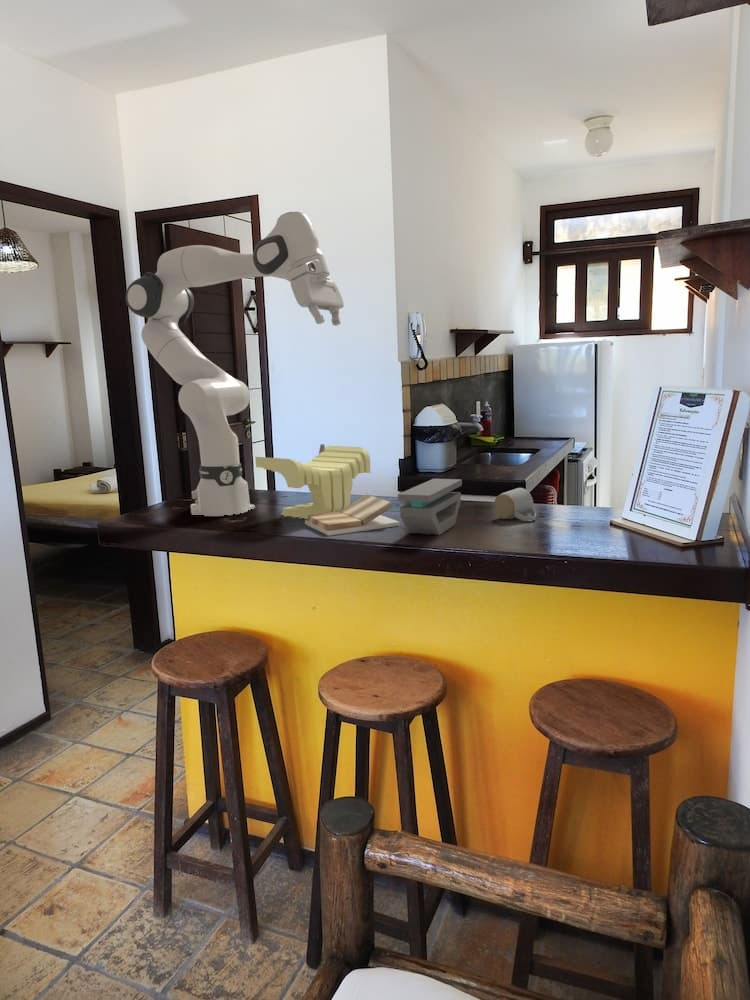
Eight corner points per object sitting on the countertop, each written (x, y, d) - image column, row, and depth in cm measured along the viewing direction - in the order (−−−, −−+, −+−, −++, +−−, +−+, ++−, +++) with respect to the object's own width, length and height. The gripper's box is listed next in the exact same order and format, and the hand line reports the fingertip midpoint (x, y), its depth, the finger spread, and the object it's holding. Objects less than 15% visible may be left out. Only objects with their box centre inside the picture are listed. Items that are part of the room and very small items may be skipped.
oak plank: (307, 521, 188) (307, 515, 188) (339, 517, 192) (338, 511, 192) (328, 530, 176) (328, 524, 175) (361, 526, 180) (361, 520, 179)
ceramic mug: (491, 518, 189) (491, 490, 187) (511, 513, 194) (511, 486, 192) (523, 524, 181) (524, 495, 179) (543, 519, 186) (544, 490, 184)
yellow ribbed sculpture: (301, 527, 186) (298, 459, 182) (259, 521, 195) (255, 456, 192) (371, 507, 209) (369, 447, 206) (330, 503, 219) (328, 445, 215)
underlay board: (305, 524, 189) (304, 520, 189) (372, 515, 198) (372, 511, 197) (328, 535, 175) (328, 531, 175) (399, 525, 183) (399, 521, 183)
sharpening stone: (430, 541, 166) (429, 495, 164) (399, 539, 169) (397, 494, 167) (462, 520, 188) (461, 479, 186) (434, 518, 191) (433, 478, 189)
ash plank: (342, 516, 192) (339, 511, 192) (368, 498, 195) (366, 494, 195) (364, 525, 180) (362, 520, 179) (392, 506, 183) (390, 501, 182)
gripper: (320, 282, 195) (336, 330, 196) (282, 274, 177) (300, 326, 178) (339, 272, 193) (356, 321, 193) (302, 263, 174) (321, 317, 175)
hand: (329, 324), depth 185 cm, fingers open, 8 cm apart
